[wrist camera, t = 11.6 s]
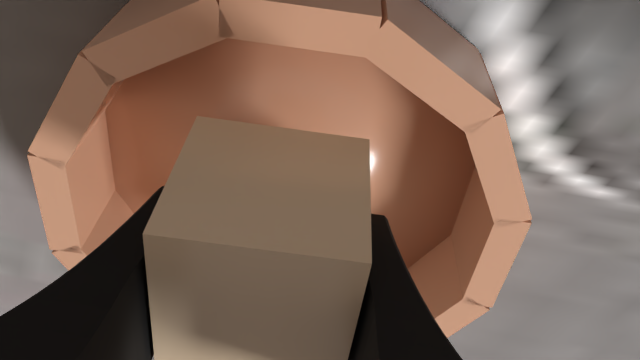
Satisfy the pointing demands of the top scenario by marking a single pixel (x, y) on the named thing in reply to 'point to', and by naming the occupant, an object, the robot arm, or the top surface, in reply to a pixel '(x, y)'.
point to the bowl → (295, 125)
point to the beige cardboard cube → (260, 245)
